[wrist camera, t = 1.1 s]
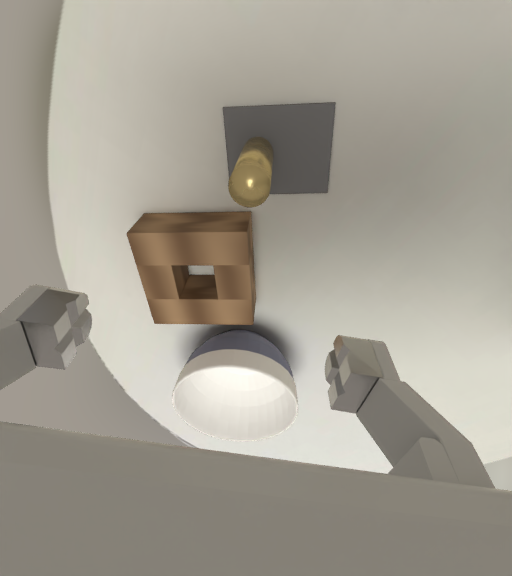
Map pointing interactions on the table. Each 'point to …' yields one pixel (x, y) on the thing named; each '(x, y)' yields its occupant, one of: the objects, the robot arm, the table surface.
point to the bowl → (237, 388)
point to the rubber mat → (286, 142)
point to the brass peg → (252, 173)
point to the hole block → (196, 251)
